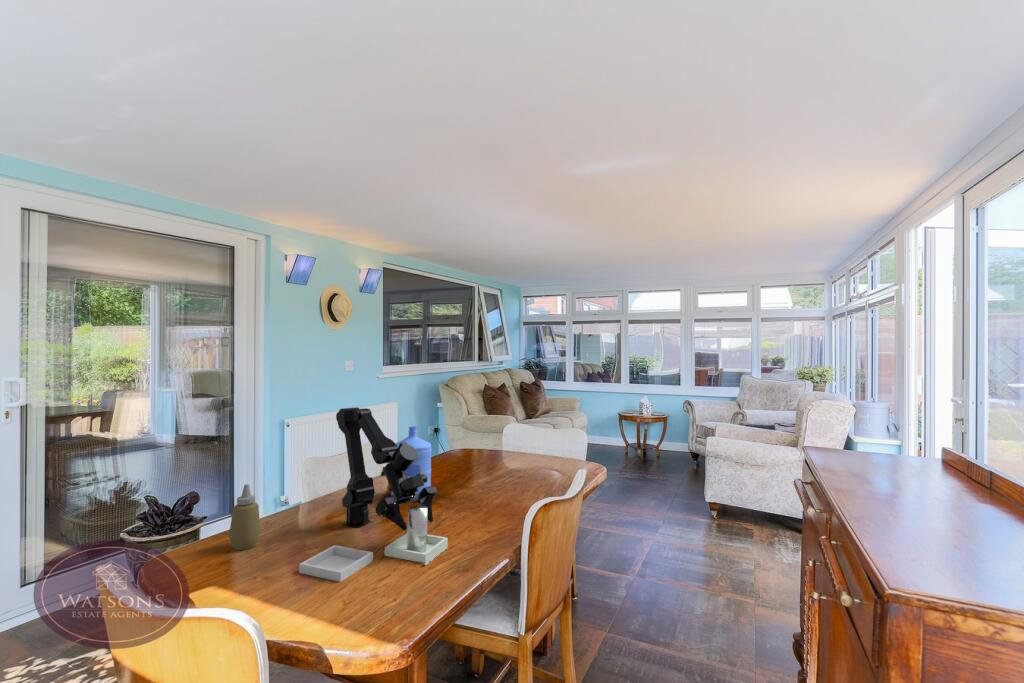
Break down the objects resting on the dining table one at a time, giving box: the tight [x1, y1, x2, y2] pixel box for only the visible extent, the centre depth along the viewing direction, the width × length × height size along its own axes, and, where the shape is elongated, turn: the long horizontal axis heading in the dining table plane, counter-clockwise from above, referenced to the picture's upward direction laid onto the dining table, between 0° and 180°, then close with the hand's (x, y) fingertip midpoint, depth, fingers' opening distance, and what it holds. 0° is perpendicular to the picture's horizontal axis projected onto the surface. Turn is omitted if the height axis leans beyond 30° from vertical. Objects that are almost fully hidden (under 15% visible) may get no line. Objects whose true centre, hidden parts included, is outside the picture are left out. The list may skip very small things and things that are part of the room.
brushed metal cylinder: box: [406, 504, 429, 553], centre depth 136 cm, size 6×6×12 cm
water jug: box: [390, 425, 433, 496], centre depth 191 cm, size 16×16×28 cm
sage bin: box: [384, 533, 449, 566], centre depth 136 cm, size 13×13×3 cm
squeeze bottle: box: [228, 483, 261, 551], centre depth 138 cm, size 8×8×18 cm
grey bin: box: [298, 544, 374, 582], centre depth 124 cm, size 13×13×3 cm
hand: (419, 525), depth 135 cm, fingers open, 9 cm apart
